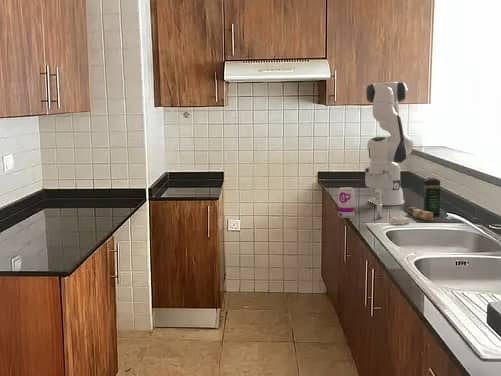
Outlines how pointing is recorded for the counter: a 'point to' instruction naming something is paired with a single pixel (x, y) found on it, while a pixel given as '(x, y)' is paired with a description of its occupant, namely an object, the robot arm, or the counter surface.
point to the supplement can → (346, 202)
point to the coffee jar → (432, 195)
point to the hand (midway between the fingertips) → (379, 197)
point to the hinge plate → (418, 217)
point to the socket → (399, 220)
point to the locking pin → (379, 211)
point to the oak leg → (420, 213)
